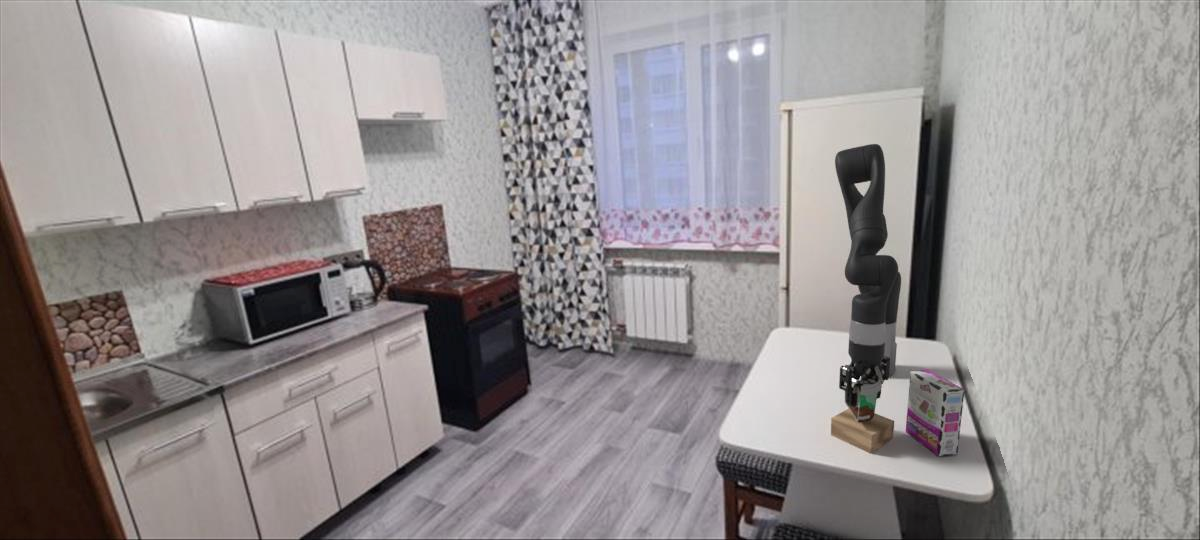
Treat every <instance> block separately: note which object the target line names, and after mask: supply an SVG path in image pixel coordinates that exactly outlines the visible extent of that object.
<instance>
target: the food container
mask: <svg viewBox="0 0 1200 540" xmlns="http://www.w3.org/2000/svg"><path fill="white" fill-rule="evenodd" d="M844 366H845V367H847V366H850V364H845V365H844ZM853 378H854V379H856V380H859V378H856V377H855V375H854V377H853ZM854 384H855V383H854V382H853V383H852V387H853V386H854ZM845 385H846V382H845ZM882 387H883V384H882V385H881V381H880V378H879V376H878V377H874V376H873V378H868V379H866V380H864V382H863V384H862V385H858V390H857V392H856V393H857V403H856V406H855V407H852V406H850V405H848V404H847V403H846V391H844V404H845V406H846V407H847V409H849V410H850V411H851V413H852V414H853V416H854V417H855V419H856V421H857V422H867V421H870V420H872V419H873V417H874V413H875V412H876V406H877V401H878V400H877V394H878V392H879V391H880V390H881V391H882ZM875 414H876V413H875Z"/></svg>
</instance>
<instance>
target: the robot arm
mask: <svg viewBox="0 0 1200 540" xmlns="http://www.w3.org/2000/svg"><path fill="white" fill-rule="evenodd" d="M834 165H835V167H834V168H835V173H836V176H837V180H838V183H839V187H840V191H841V194H842V197H843V201H844V205H845V211H846V219H847V224H848V230H849V236H850V240H851V245H850V249H849V250H850V251H849V254H848V258H847V261H846V263H845V266H844V276H845V279H846V280H847V282H849V284H851V285H853V286H857V288H858V291H859V294H855V295H854V296H853V297H852V300H851V318H850V324H849V331H848V351H847V354H848V355H849V358H850V359H851V361H850V364H849V365H850V366H847V367H845V365H841V366H840V368H839V383H838V385H839V386H838V388H839V390H842V391H844V392H845V391H846V403H847V404H848V405H850V406H852V407H855V406H856V403H857V393H856V392H857V390H858V385H862V384H863V382H864V380H866V379H868V378H873V376H874V377H878V376H879V378H880V381H881V385H882V386H883V384H884V383H885V381H888V380H890V376H893V374H894V373H895V371H896V362H897V347H898V343H897V342H896V337H897V336H896V335H897V319H898V311H899V303H900V295H901V288H902V275H901V272H900V271H899V264H898V262H897V260H896V259H895V258H894V256H891V255H888V254H878V253H879V252H880V251H881V250H882V249H883V248H884V247H885V246H886V242H887V240H888V234H889V232H888V227H887V219H886V216H885V214H884V203H885V189H886V186H885V185H886V162H885V155H884V151H883V148H882V147H881V146H880V144H877V143H872V144H871V143H870V144H866V145H865V144H864V145H861V146H856V147H851V148H846V149H843V150H839V151H838V152H837V153H836V154H835V158H834ZM866 182H870V184H869V185H868V186H869V187H868V188H867V190H866V192H865V194H864V195H863V194H862V192H860V191H859V190H858V187H857V186H856V184H861V183H866ZM854 375H855V377H856V378H859V380H856V379H854V378H853V377H854ZM845 382H846V385H845ZM853 382H854V383H855V384H854V386H853V387H852V383H853ZM881 395H882V389H881V390H880V391H879V392H878V394H877V399H880V398H881Z"/></svg>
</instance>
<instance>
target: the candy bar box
mask: <svg viewBox="0 0 1200 540" xmlns="http://www.w3.org/2000/svg"><path fill="white" fill-rule="evenodd" d="M964 396H965V389H964V388H962V387H961V386H959V385H957V384H955V383H953V382H951V381H950V380H947V379H946V378H944V377H942V376H940V375H938V374H937V373H935V372H933V371H932V370H930V369H922V370H913V371H910V376H909V387H908V399H907V411H906V421H905V423H906V424H905V432H906V433H907V434H908V435H910V436H911V437H912V438H914V439H915V440H916V441H917V442H918V443H920V444H921V445H922V446H924V447H926V448H927V449H928V450H930V452H932V453H933V454H935V455H936V456H937V457H940V458H941V457H948V456H949V457H950V456H957V455H958V454H959V453H958V452H959V442H960V432H961V425H962V424H961V423H962V418H963V417H962V415H963V409H964V399H965V397H964Z"/></svg>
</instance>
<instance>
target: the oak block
mask: <svg viewBox="0 0 1200 540" xmlns="http://www.w3.org/2000/svg"><path fill="white" fill-rule="evenodd" d="M894 432H895V420H893V419H891V418H888V417H886V416H883V415H881V414H878V413H874V417H873V419H872V420H870V421H867V422H857V421H856V419H855V417H854V416H853V414H852V413H851V411H850V410H849V408H847V409H845V410H843V411H842V412H839V413H838V414H837V415H834V416H833V417H831V424H830V436H831V437H834V438H836V439H838V440H840V441H843V442H844V443H846V444H849V445H851V446H854V447H855V448H857V449H860V450H861V451H864V452H866V453H868V454H870V455H871V454H873V453H874V452H876V451H877V450H879V449H880V448H881V447H883V446H884V445H886V444H887V443H888V442H890V441H892V440H893V439H894Z"/></svg>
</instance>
